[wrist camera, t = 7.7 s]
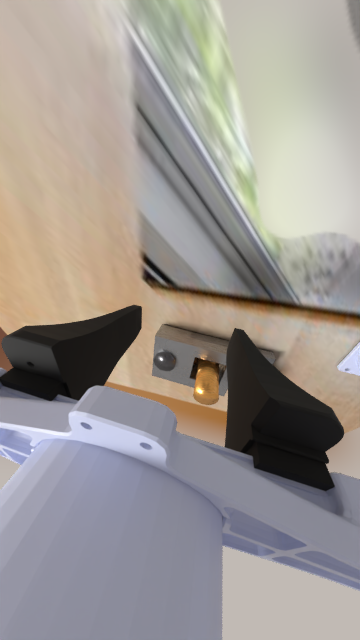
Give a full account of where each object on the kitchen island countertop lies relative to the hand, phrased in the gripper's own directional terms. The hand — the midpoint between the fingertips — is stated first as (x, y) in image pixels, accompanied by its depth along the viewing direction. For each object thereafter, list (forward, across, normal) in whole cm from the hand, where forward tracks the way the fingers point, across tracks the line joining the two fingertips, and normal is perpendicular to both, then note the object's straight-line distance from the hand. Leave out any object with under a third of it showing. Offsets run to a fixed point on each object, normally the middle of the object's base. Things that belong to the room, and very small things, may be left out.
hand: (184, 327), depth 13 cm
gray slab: (+9, -4, +11) cm, 15 cm away
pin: (+9, -4, +11) cm, 15 cm away
